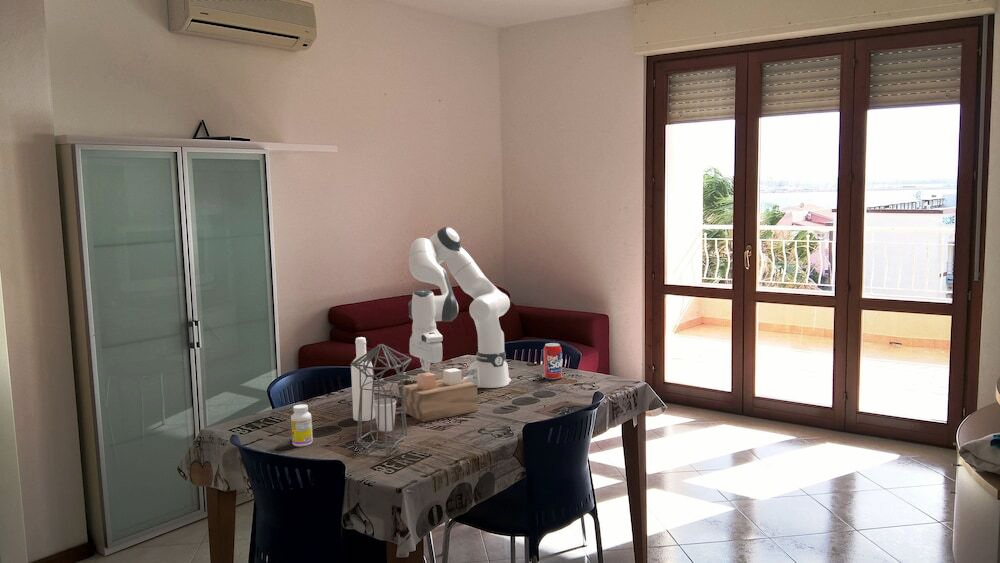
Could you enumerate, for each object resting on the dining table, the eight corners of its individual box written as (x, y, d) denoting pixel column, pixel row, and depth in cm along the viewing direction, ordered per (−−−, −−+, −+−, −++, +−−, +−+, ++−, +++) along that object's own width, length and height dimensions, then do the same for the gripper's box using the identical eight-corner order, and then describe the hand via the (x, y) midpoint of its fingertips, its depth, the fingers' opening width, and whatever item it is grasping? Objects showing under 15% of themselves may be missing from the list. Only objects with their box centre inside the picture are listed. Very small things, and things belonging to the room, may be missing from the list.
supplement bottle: (294, 441, 260) (292, 403, 258) (314, 440, 260) (312, 402, 259) (290, 447, 253) (288, 409, 251) (311, 446, 253) (309, 408, 252)
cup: (420, 400, 307) (420, 380, 306) (411, 404, 300) (410, 384, 300) (404, 398, 310) (404, 378, 309) (394, 403, 304) (394, 383, 303)
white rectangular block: (444, 393, 294) (443, 369, 293) (455, 391, 296) (454, 368, 295) (450, 395, 289) (449, 372, 288) (462, 393, 292) (461, 370, 291)
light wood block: (403, 411, 291) (402, 385, 290) (457, 401, 303) (456, 376, 302) (422, 421, 278) (421, 394, 277) (477, 410, 290) (477, 384, 289)
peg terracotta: (418, 397, 288) (417, 374, 287) (430, 395, 290) (429, 372, 289) (424, 400, 284) (423, 376, 283) (436, 398, 286) (435, 374, 285)
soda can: (550, 375, 343) (549, 341, 342) (565, 377, 339) (564, 343, 337) (540, 378, 337) (540, 345, 335) (556, 381, 332) (555, 346, 331)
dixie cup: (376, 425, 274) (374, 398, 273) (399, 425, 274) (398, 398, 273) (371, 433, 266) (370, 404, 265) (395, 432, 266) (394, 404, 265)
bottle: (368, 422, 279) (364, 340, 275) (349, 420, 282) (345, 339, 278) (379, 416, 286) (375, 336, 283) (360, 414, 289) (356, 335, 286)
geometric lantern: (371, 442, 256) (369, 338, 252) (415, 447, 251) (414, 341, 248) (348, 458, 241) (346, 347, 237) (394, 463, 236) (393, 350, 233)
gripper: (404, 331, 291) (406, 367, 293) (429, 339, 274) (430, 377, 276) (419, 329, 295) (421, 364, 296) (445, 337, 277) (446, 374, 279)
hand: (425, 370), depth 286 cm, fingers closed
